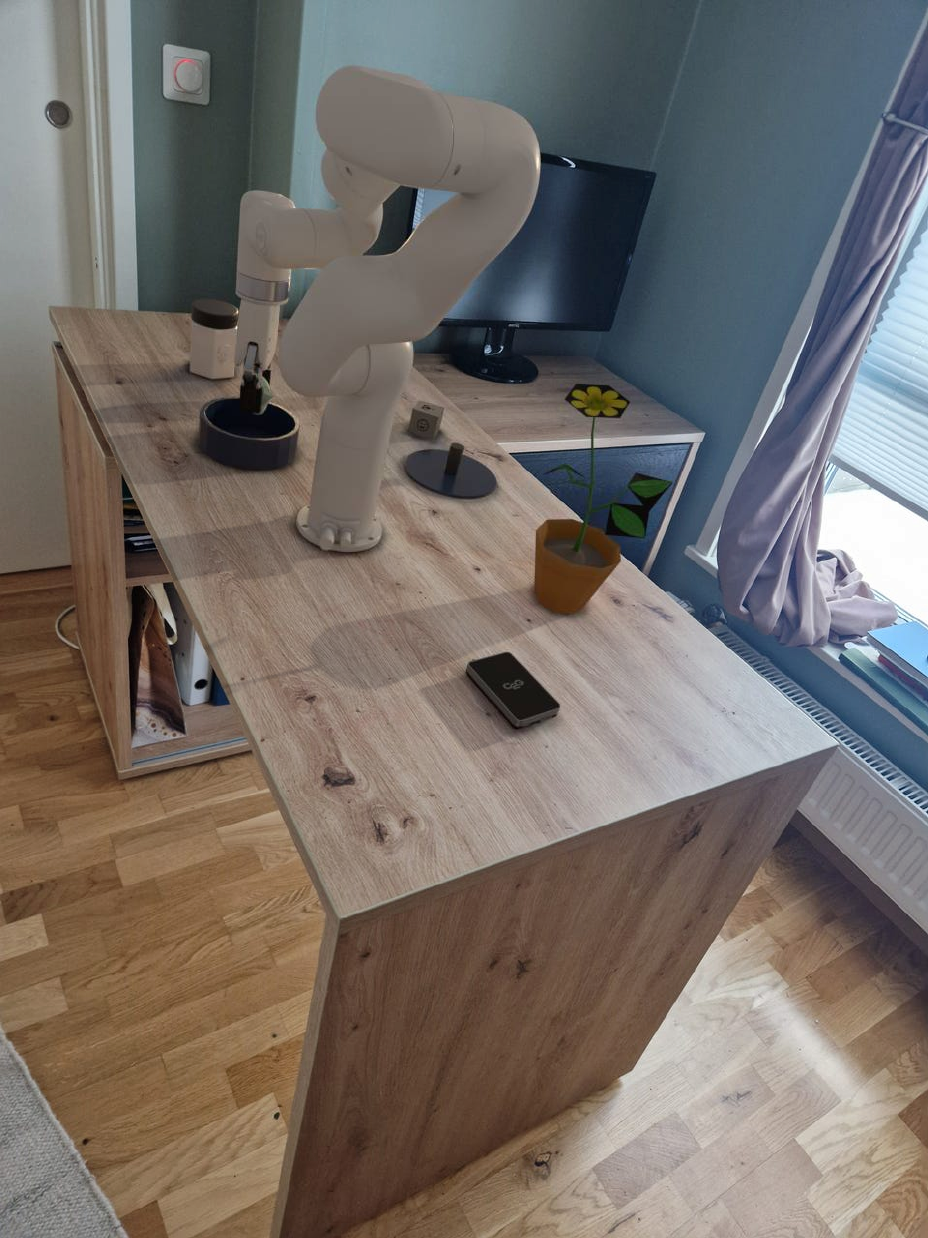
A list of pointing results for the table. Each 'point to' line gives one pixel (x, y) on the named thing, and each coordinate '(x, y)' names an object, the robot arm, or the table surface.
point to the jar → (213, 338)
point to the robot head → (264, 394)
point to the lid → (450, 472)
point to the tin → (248, 435)
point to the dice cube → (426, 419)
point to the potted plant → (576, 550)
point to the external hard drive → (512, 690)
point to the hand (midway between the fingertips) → (254, 400)
